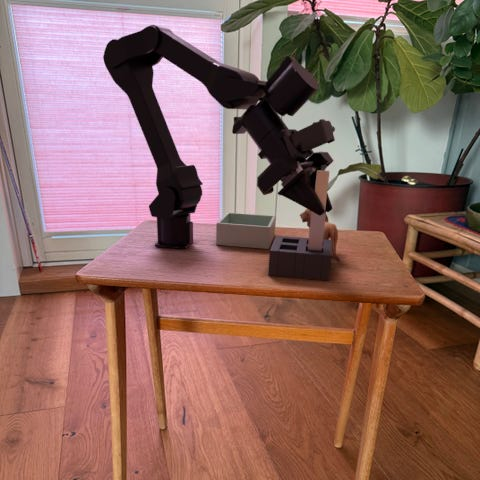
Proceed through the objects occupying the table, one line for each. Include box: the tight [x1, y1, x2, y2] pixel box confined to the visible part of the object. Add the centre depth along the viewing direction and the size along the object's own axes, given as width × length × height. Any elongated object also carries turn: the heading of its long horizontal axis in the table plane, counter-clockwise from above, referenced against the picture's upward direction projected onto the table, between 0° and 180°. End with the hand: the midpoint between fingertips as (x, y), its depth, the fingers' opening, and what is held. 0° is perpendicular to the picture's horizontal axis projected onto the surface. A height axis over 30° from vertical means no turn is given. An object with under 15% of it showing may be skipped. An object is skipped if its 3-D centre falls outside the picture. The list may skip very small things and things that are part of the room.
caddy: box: [267, 235, 333, 282], centre depth 82 cm, size 10×10×4 cm
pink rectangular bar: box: [308, 170, 330, 251], centre depth 76 cm, size 2×3×13 cm
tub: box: [215, 212, 277, 250], centre depth 99 cm, size 11×11×5 cm
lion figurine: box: [299, 208, 341, 262], centre depth 91 cm, size 15×5×9 cm, turn 19°
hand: (326, 212), depth 76 cm, fingers closed on pink rectangular bar, 3 cm apart
